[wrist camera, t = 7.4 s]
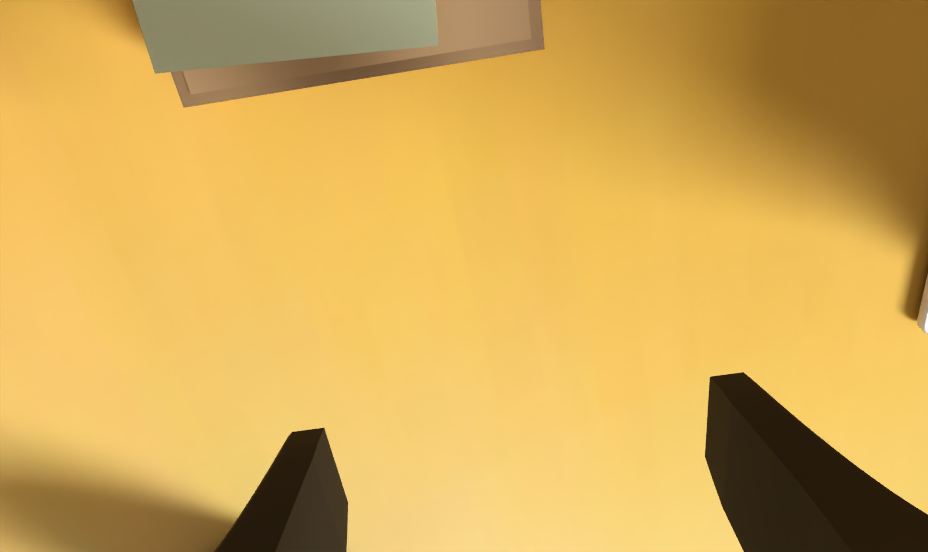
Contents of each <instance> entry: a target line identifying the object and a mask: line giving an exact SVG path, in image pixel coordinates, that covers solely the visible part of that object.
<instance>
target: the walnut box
mask: <svg viewBox="0 0 928 552" xmlns="http://www.w3.org/2000/svg"><path fill="white" fill-rule="evenodd" d="M436 13H437V28H438V42H439V46H430V47H420V48H410V49H399V50H389V51H379V52H369V53H358V54H348V55H338V56H328V57H318V58H307V59H297V60H287V61H277V62H267V63H256V64H246V65H236V66H226V67H215V68H205V69H195V70H185V71H175V72H171V74H172V77H173V80H174V82H175V85H176V88H177V91H178V93H179V96H180V99H181V101H182V104H183V107H184V108H185V107H191V106H197V105H203V104H209V103H215V102H222V101H228V100H234V99H240V98H246V97H252V96H258V95H265V94H271V93H277V92H283V91H289V90H295V89H301V88H308V87H314V86H320V85H326V84H332V83H338V82H345V81H351V80H357V79H363V78H369V77H375V76H381V75H388V74H394V73H400V72H406V71H412V70H418V69H425V68H431V67H437V66H443V65H449V64H455V63H461V62H468V61H474V60H480V59H486V58H492V57H498V56H504V55H511V54H517V53H523V52H529V51H535V50H541V49H544V38H543V26H542V15H541V3H540V0H436Z"/></svg>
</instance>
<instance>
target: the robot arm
mask: <svg viewBox="0 0 928 552" xmlns="http://www.w3.org/2000/svg"><path fill="white" fill-rule="evenodd" d="M917 325H918V326H919V328H920V329H921V330H922V331H924V332H925V333H927V334H928V275H927V280H926V284H925V288H924V293H923V297H922V302H921V306H920V310H919V315H918V319H917ZM705 458H706V461H707V464H708V467H709V470H710V473H711V476H712V479H713V482H714V485H715V487H716V490H717V493H718V496H719V499H720V501H721V504H722V507H723V509H724V511H725V513H726V515H727V518H728V520H729V522H730V524H731V526H732V528H733V530H734V532H735V534H736V536H737V538H738V540H739V542H740V544H741V547H742V549H743V551H744V552H928V515H927V514H926V513H924V512H923V511H921V510H919V509H918V508H916V507H915V506H913V505H911V504H910V503H908V502H907V501H905V500H904V499H902V498H901V497H899V496H898V495H896V494H895V493H893V492H892V491H890V490H889V489H887V488H886V487H885V486H883V485H882V484H880V483H879V482H878V481H876V480H875V479H873V478H872V477H871V476H869V475H868V474H867V473H865V472H864V471H862V470H861V469H860V468H858V467H857V466H856V465H854V464H853V463H852V462H850V461H849V460H848V459H847V458H845V457H844V456H843V455H841V454H840V453H839V452H838V451H836V450H835V449H834V448H833V447H831V446H830V445H829V444H828V443H826V442H825V441H824V440H823V439H821V438H820V437H819V436H818V435H816V434H815V433H814V432H813V431H811V430H810V429H809V428H808V427H807V426H805V425H804V424H803V423H802V422H801V421H799V420H798V419H797V418H796V417H795V416H794V415H792V414H791V413H790V412H789V411H788V410H786V409H785V408H784V407H783V406H782V405H781V404H780V403H778V402H777V401H776V400H775V399H774V398H773V397H771V396H770V395H769V394H768V393H767V392H766V391H765V390H763V389H762V388H761V387H760V386H759V385H758V384H757V383H755V382H754V381H753V380H752V379H751V378H750V377H748V376H747V375H746V374H745V373H735V374H728V375H720V376H713V377H710V385H709V401H708V417H707V433H706V449H705ZM347 519H348V501H347V498H346V495H345V492H344V489H343V486H342V482H341V479H340V476H339V473H338V470H337V467H336V464H335V461H334V457H333V454H332V451H331V448H330V445H329V442H328V439H327V435H326V432H325V429H324V428H319V429H312V430H304V431H297V432H292V433H291V434H290V435H289V437H288V438H287V440H286V441H285V443H284V445H283V446H282V448H281V450H280V451H279V453H278V455H277V456H276V458H275V460H274V462H273V463H272V465H271V467H270V468H269V470H268V472H267V473H266V475H265V476H264V478H263V480H262V481H261V483H260V485H259V486H258V488H257V489H256V491H255V493H254V494H253V496H252V497H251V499H250V500H249V502H248V503H247V505H246V507H245V508H244V510H243V511H242V513H241V514H240V516H239V517H238V519H237V520H236V522H235V523H234V525H233V526H232V528H231V529H230V531H229V532H228V534H227V535H226V537H225V538H224V539H223V541H222V542H221V543H220V545H219V546H218V548H217V549H216V550H215V552H346V547H347Z"/></svg>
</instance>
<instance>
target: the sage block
mask: <svg viewBox="0 0 928 552" xmlns="http://www.w3.org/2000/svg"><path fill="white" fill-rule="evenodd" d="M132 2H133V5H134V8H135V11H136V15H137V18H138V21H139V24H140V27H141V30H142V34H143V37H144V40H145V43H146V46H147V49H148V53H149V56H150V59H151V62H152V65H153V68H154V72H155V73H164V72H175V71H185V70H195V69H205V68H215V67H226V66H236V65H246V64H256V63H267V62H277V61H287V60H297V59H307V58H318V57H328V56H338V55H348V54H358V53H369V52H379V51H389V50H399V49H410V48H420V47H430V46H439V42H438V28H437V13H436V0H132Z"/></svg>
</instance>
